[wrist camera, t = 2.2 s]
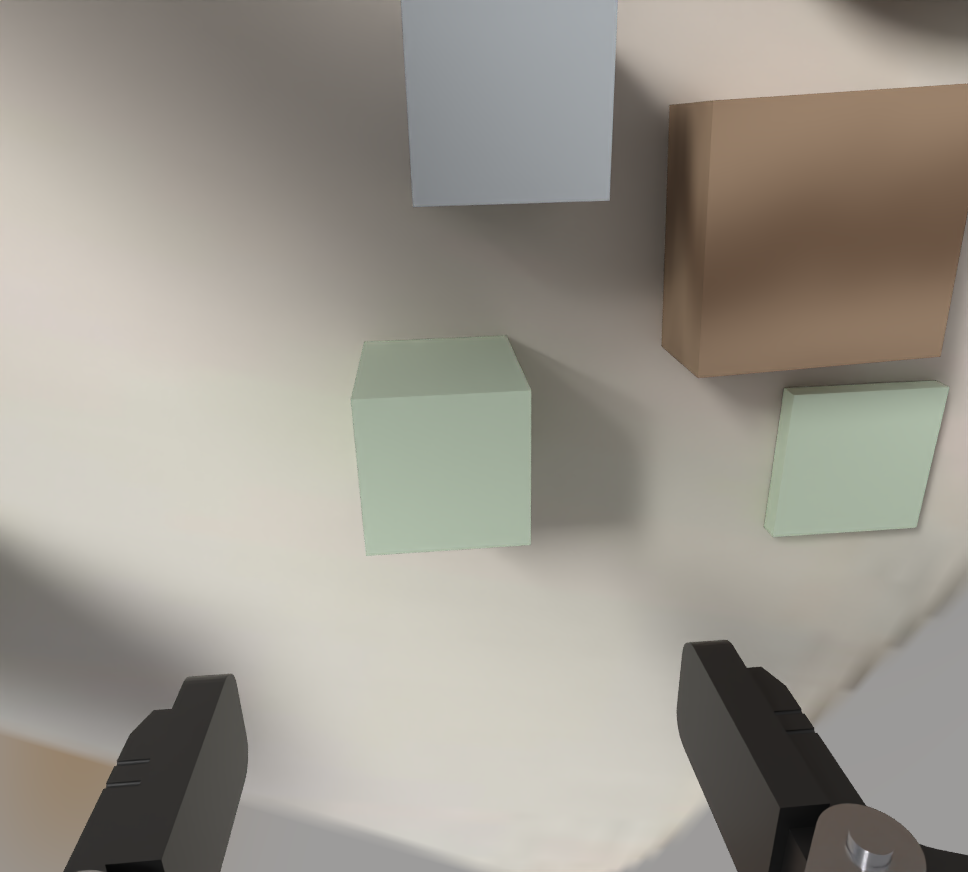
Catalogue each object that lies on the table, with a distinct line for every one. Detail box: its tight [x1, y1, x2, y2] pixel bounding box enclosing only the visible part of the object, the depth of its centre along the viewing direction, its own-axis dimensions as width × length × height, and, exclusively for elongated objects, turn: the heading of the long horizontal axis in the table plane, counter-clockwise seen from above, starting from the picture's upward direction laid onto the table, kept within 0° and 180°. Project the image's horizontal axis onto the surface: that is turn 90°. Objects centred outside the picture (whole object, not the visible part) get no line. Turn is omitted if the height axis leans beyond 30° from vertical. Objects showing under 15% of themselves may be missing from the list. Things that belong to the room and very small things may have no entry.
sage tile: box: [764, 380, 949, 537], centre depth 29 cm, size 6×6×1 cm
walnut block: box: [662, 84, 968, 378], centre depth 24 cm, size 8×8×4 cm
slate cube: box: [401, 0, 618, 207], centre depth 20 cm, size 5×5×6 cm
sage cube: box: [351, 336, 531, 556], centre depth 24 cm, size 5×5×6 cm
